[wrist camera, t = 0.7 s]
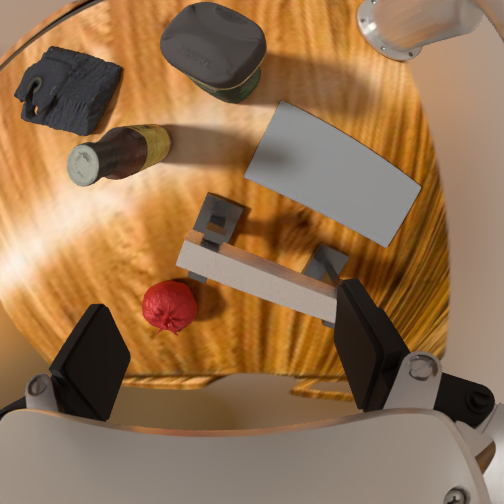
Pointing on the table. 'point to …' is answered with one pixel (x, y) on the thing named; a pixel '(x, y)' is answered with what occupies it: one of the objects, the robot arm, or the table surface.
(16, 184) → the table surface
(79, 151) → the sauce bottle
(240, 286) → the hang bar
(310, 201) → the mat
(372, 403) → the robot arm
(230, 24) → the coffee jar
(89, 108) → the dark grey notched piece
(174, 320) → the pomegranate
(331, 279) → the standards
